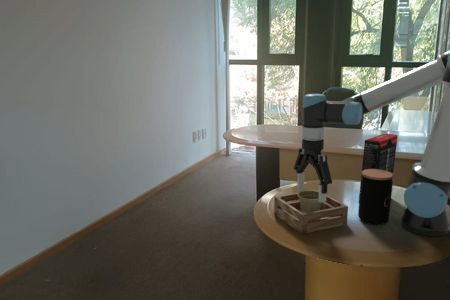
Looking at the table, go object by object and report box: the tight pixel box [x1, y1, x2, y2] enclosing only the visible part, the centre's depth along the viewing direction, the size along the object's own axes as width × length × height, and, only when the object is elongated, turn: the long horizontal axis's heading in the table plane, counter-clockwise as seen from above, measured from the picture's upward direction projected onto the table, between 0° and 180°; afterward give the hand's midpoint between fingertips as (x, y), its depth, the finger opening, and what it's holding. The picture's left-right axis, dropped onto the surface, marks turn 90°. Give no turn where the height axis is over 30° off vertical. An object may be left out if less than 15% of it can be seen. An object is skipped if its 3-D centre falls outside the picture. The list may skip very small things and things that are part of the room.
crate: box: [273, 189, 349, 235], centre depth 146 cm, size 19×19×7 cm
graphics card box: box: [358, 133, 399, 199], centre depth 160 cm, size 17×7×27 cm, turn 136°
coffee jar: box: [357, 169, 394, 226], centre depth 143 cm, size 11×11×18 cm
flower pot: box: [297, 189, 321, 213], centre depth 145 cm, size 9×9×9 cm
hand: (311, 195), depth 144 cm, fingers open, 13 cm apart
